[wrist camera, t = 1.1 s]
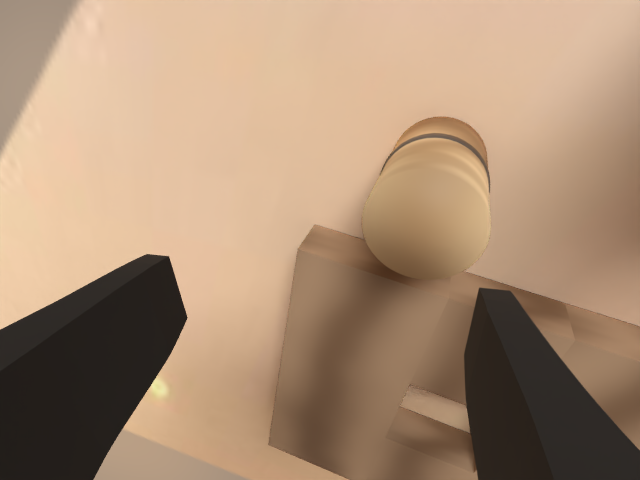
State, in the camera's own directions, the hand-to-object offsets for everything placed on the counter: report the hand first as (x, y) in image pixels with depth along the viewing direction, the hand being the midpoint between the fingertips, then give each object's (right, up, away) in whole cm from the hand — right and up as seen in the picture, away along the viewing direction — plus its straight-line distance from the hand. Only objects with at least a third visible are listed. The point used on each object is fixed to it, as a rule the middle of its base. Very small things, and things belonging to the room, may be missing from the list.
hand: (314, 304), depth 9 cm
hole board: (+8, -8, +15) cm, 19 cm away
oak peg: (+5, +5, +8) cm, 11 cm away
